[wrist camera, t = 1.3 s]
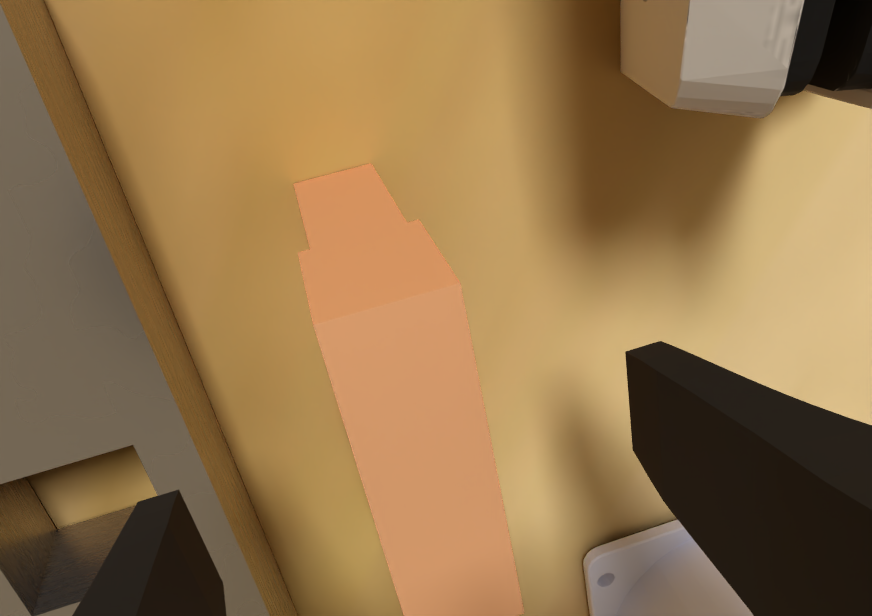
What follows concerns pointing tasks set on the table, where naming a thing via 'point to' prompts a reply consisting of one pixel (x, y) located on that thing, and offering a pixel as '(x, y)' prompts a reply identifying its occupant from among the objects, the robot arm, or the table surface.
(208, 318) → the table surface
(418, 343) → the clip
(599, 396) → the table surface
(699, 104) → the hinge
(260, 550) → the rail
